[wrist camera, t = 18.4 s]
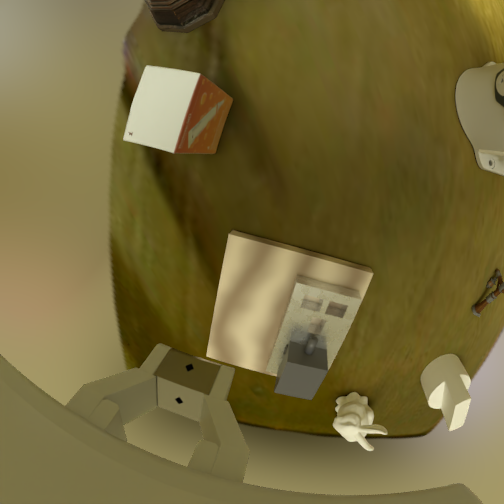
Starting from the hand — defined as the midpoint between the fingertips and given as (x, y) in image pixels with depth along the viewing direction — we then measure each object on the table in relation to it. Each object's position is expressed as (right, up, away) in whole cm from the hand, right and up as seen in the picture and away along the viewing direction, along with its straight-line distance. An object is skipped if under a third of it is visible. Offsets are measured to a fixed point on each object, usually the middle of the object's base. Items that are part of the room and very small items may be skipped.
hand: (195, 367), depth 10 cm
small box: (-4, +22, +25) cm, 33 cm away
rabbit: (+22, -25, +36) cm, 49 cm away
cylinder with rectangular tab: (+38, -19, +31) cm, 53 cm away
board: (+7, -5, +32) cm, 33 cm away
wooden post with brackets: (+41, -2, +25) cm, 48 cm away
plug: (+10, -10, +30) cm, 33 cm away
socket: (+11, -7, +30) cm, 32 cm away
